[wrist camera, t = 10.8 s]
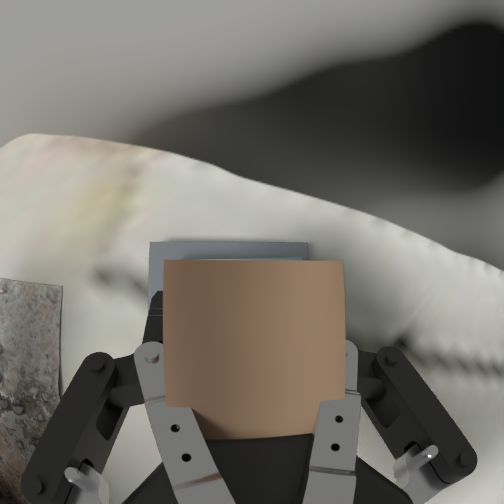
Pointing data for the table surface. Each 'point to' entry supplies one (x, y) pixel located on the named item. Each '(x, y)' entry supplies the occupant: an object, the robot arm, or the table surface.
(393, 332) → the table surface
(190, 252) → the tower base slab
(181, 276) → the walnut pillar
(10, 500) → the valve
